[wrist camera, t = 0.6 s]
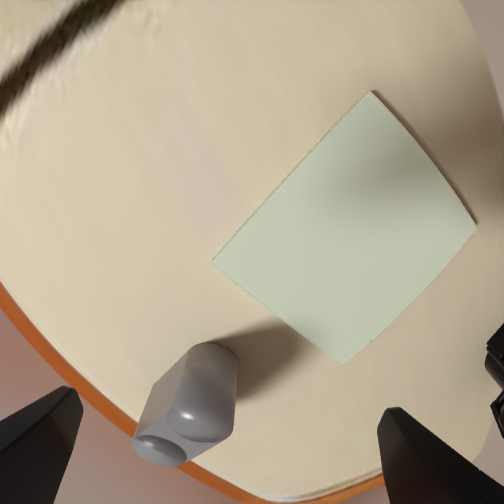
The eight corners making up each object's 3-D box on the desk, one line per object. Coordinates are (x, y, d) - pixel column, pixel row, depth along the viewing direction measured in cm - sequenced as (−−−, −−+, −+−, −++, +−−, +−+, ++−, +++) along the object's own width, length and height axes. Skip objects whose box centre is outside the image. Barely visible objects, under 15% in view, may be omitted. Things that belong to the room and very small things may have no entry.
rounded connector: (249, 363, 22) (247, 424, 16) (171, 426, 24) (157, 477, 19) (206, 332, 21) (190, 391, 15) (134, 403, 24) (113, 453, 18)
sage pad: (472, 225, 18) (477, 227, 18) (340, 360, 22) (342, 365, 21) (366, 91, 16) (369, 90, 15) (211, 259, 19) (210, 263, 19)
